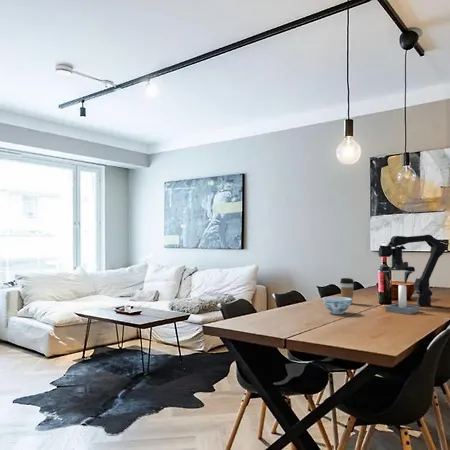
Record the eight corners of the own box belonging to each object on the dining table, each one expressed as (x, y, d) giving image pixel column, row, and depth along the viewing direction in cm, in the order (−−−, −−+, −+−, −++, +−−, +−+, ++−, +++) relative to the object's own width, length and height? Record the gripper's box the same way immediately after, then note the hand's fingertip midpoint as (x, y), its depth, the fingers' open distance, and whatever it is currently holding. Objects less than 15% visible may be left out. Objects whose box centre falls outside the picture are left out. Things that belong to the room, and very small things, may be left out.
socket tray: (395, 308, 252) (395, 303, 252) (419, 311, 243) (419, 306, 243) (385, 311, 242) (385, 306, 243) (409, 314, 233) (409, 308, 233)
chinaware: (355, 315, 230) (355, 300, 230) (326, 315, 230) (326, 300, 230) (347, 310, 245) (347, 296, 245) (319, 310, 245) (319, 296, 245)
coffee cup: (352, 302, 277) (352, 278, 277) (355, 304, 269) (355, 279, 269) (339, 302, 278) (338, 278, 278) (341, 304, 269) (341, 279, 270)
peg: (401, 310, 245) (401, 285, 246) (408, 311, 242) (407, 285, 242) (397, 311, 243) (396, 285, 244) (403, 312, 240) (403, 286, 240)
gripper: (384, 257, 258) (384, 284, 257) (417, 257, 256) (417, 285, 255) (379, 256, 269) (379, 282, 268) (411, 257, 267) (411, 283, 266)
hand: (397, 283), depth 264 cm, fingers open, 9 cm apart
